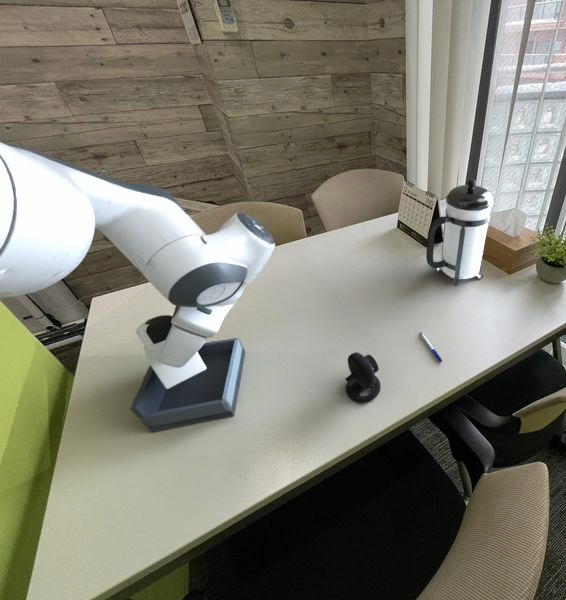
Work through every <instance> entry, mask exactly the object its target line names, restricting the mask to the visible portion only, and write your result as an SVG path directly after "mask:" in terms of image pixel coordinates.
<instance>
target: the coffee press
mask: <svg viewBox="0 0 566 600" xmlns="http://www.w3.org/2000/svg"><path fill="white" fill-rule="evenodd" d="M492 195H493V194H492V193H491V192H490V191H489V190H488V189H487V188H485V187H483V186H481V185H477V181H476V180H475V179H474V178H470V179H469V180H467V183H466V184H462V185H457V186H455V187H453V188H452V189H451V190H450V191H449V192H448V194H447V195H446V197H445V203H446V208H445V212H444V216H440V217H437V218H436V219H434V221H432V223H431V224H430V226H429V228H428V231H427V237H426V238H427V239H426V252H425V253H426V255H425V256H426V257H425V259H426V263H427V265H428V266H429V267H430V268H432V269H436V271H438V272H441V271H442V272H444V274H446V275H447V276H448V277H450V278H452V279H453V283H452V285H453V287H458V286H459V282H460V280H468V279H472V278H474V277H477V278H478V279H479V280H482V279H483V278H484V272H483V270H482V265H483V259H484V253H485V248H486V242H487V238H488V237H487V235H488V230H489V225H490V220H491V215H492V214H491V209H492V206H493V204H494V198H493V196H492ZM442 225H443V236H442V246H441V257H440V261H434V250H435V249H434V248H435V237H436V231H437V229H438V228H439V227H440V226H442ZM479 273H480V274H479Z"/></svg>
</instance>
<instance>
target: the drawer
mask: <svg viewBox="0 0 566 600" xmlns="http://www.w3.org/2000/svg"><path fill="white" fill-rule="evenodd" d="M197 352H198V354H199V356H200V357H201V359H202V361H203V363H204V364H205V366H206V370H204V371H202V372H200V373H198V374H196V375H194V376H192V377H190V378H188V379H187V380H185V381H183V382H181V383H179V384H177V385H175V386H173V387H171V388H169V389H166V388H165V386H164V385H163V383H162V382H161V380H160V379H159V377H158V376H157V374H156V373H155V371H154V370H153V368H152V367H151V365H150V364H149V367H148V369H147V370H146V373H145V375H144V378H143V379H142V382H141V383H140V386H139V388H138V390H137V392H136V395H135V397H134V399H133V400H132V401H133V402H132V403H131V406H130V408H129V410H130V411H131V412H132V414H133V415H135V417H137V419H138V420H139V421H140V422H141V423H142V424H143V426H145V428H147V430H148V431H149V432H150V433H151V434H154V433H159V432H164V431H169V430H173V429H174V430H175V429H178V428H183V427H188V426H193V425H197V424H203V423H207V422H208V423H209V422H212V421H217V420H223V419H228V418H233V417H235V414H236V413H235V412H236V409H237V408H236V407H237V401H238V395H239V389H240V386H241V385H240V383H241V379H242V373H243V366H244V362H245V355H246V350H245V348H244V346H243V344H242V342H241V340H240V337H233V338H228V339H222V340H215V341H209V342H205V343H204V344H203V346H202V347H201V348H200V349H199V350H198V351H197Z"/></svg>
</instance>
